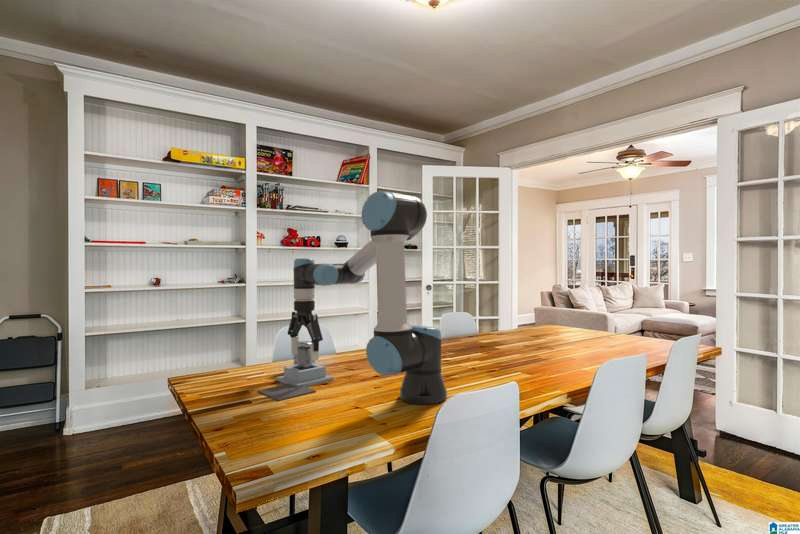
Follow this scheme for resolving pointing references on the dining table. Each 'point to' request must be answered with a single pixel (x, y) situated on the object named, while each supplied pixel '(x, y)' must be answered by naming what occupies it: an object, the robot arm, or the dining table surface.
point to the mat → (286, 391)
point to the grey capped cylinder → (304, 355)
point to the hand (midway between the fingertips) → (304, 357)
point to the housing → (304, 376)
